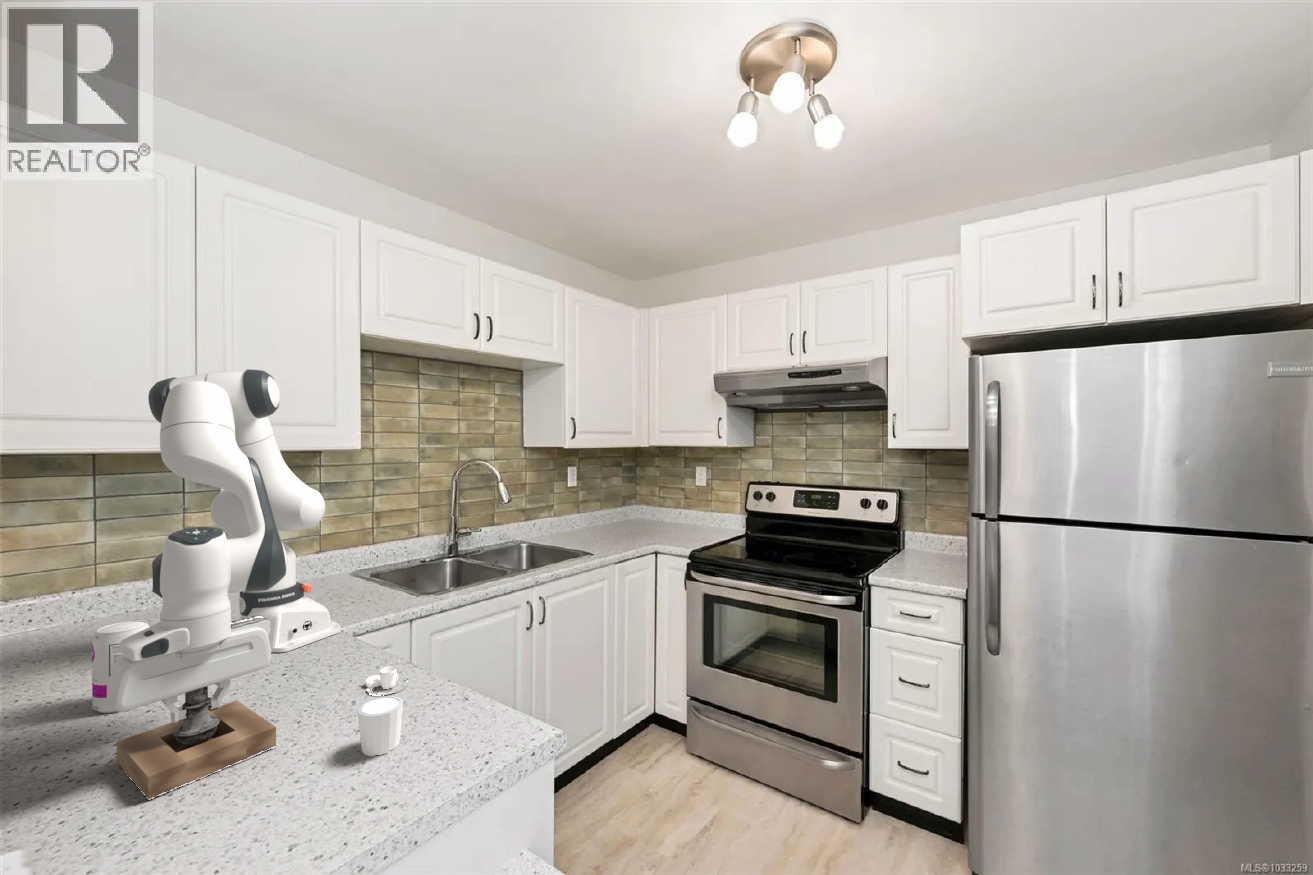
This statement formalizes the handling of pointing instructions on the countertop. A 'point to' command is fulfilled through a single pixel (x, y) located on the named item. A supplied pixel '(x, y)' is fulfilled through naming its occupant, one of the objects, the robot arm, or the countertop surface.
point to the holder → (193, 750)
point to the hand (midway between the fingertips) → (196, 714)
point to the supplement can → (108, 659)
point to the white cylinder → (380, 724)
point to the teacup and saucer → (383, 679)
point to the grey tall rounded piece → (196, 720)
